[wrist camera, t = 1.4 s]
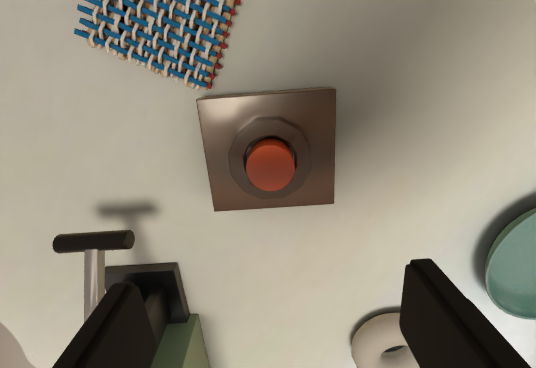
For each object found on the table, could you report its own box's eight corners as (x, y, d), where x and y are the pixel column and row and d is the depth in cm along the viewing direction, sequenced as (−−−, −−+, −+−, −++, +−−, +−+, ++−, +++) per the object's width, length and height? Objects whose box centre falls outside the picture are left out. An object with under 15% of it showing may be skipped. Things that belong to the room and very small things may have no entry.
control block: (201, 96, 24) (189, 101, 20) (330, 86, 24) (341, 89, 20) (218, 201, 28) (210, 221, 24) (329, 194, 28) (338, 213, 24)
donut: (385, 373, 38) (446, 332, 35) (395, 401, 34) (464, 359, 31) (331, 339, 35) (392, 292, 32) (337, 366, 32) (405, 317, 29)
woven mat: (212, 96, 24) (207, 98, 22) (86, 44, 23) (70, 41, 21) (257, -43, 20) (255, -54, 18) (110, -116, 19) (92, -137, 17)
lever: (70, 233, 25) (47, 235, 22) (137, 228, 24) (122, 230, 22) (68, 406, 23) (44, 428, 21) (140, 402, 23) (124, 425, 21)
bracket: (105, 266, 31) (3, 389, 19) (177, 262, 31) (119, 384, 19) (124, 320, 34) (47, 455, 22) (190, 316, 34) (147, 451, 22)
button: (245, 140, 22) (243, 146, 20) (291, 136, 22) (293, 143, 20) (249, 183, 23) (248, 193, 21) (293, 179, 23) (295, 189, 21)
